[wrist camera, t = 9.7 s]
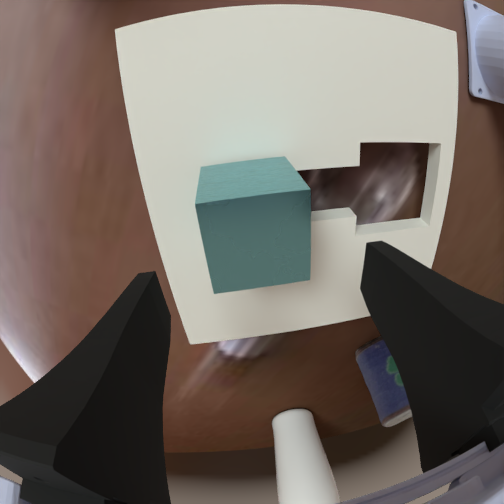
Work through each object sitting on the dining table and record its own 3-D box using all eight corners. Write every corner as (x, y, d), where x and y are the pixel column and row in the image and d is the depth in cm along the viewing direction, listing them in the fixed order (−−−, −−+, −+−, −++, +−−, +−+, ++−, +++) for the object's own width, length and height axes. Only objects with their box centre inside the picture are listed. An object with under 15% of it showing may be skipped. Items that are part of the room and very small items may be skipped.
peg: (275, 137, 17) (316, 183, 10) (280, 204, 19) (314, 282, 13) (199, 146, 17) (187, 199, 10) (211, 213, 19) (209, 298, 13)
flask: (355, 360, 30) (388, 446, 21) (352, 345, 28) (389, 438, 19) (429, 328, 29) (473, 403, 20) (431, 311, 27) (481, 390, 18)
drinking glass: (269, 406, 33) (289, 521, 21) (323, 401, 34) (352, 508, 22) (262, 428, 37) (277, 527, 24) (309, 424, 38) (331, 517, 25)
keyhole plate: (425, 32, 13) (456, 32, 11) (403, 279, 24) (420, 303, 22) (132, 36, 13) (114, 29, 10) (191, 313, 24) (190, 344, 21)
